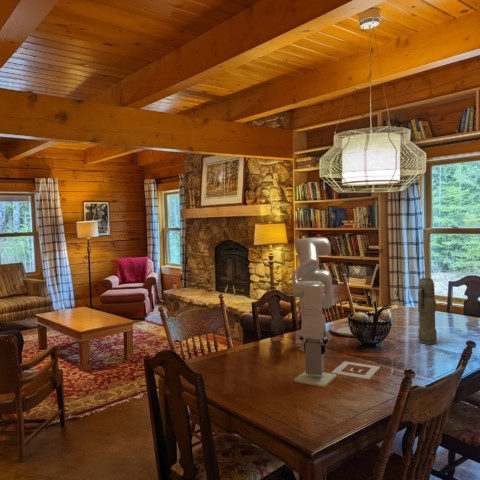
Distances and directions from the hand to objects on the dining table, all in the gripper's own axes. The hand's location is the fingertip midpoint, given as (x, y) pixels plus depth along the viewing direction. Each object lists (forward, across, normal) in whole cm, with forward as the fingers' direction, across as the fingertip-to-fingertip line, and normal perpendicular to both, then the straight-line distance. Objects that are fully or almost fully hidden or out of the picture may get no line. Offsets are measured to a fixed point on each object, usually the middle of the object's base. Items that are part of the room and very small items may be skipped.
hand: (314, 352), depth 189 cm
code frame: (+12, +12, +18) cm, 25 cm away
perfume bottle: (+9, 0, 0) cm, 9 cm away
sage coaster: (+12, 0, 0) cm, 12 cm away
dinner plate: (+12, -11, +80) cm, 82 cm away
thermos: (+12, +32, +76) cm, 83 cm away
